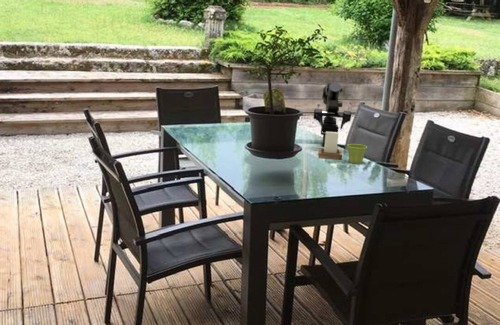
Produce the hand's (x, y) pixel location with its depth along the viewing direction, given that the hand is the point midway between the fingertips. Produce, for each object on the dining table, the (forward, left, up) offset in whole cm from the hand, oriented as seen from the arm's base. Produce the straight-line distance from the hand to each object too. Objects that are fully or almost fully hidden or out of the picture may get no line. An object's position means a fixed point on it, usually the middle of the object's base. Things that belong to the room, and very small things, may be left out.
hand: (331, 128), depth 277 cm
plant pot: (+16, +10, -14) cm, 24 cm away
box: (+7, -1, -13) cm, 15 cm away
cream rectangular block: (+7, -1, -12) cm, 15 cm away
